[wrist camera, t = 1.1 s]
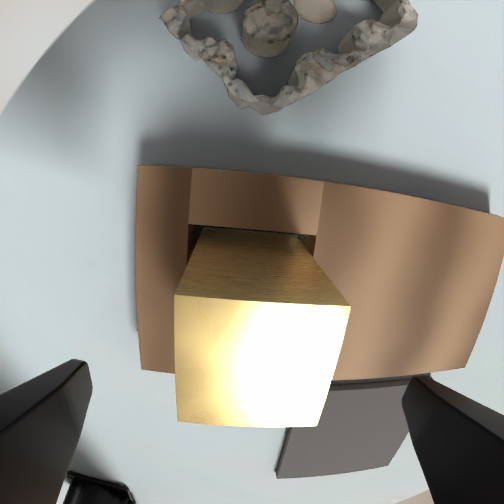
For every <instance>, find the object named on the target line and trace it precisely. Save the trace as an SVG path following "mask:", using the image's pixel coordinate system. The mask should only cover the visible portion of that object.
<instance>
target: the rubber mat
mask: <svg viewBox="0 0 504 504" xmlns="http://www.w3.org/2000/svg"><path fill="white" fill-rule="evenodd" d="M429 378H431V379H432V377H429ZM432 380H433V379H432ZM409 381H410V379H407V380H398V381H388V382H376V383H362V384H344V385H330V386H329V389H328V392H327V396H326V399H325V402H324V405H323V408H322V411H321V414H320V417H319V420H318V423H317V426H304V427H289V431H288V434H287V438H286V441H285V445H284V448H283V452H282V455H281V458H280V462H279V465H278V468H277V472H276V476H277V479H281V478H301V477H314V476H324V475H333V474H341V473H349V472H355V471H362V470H368V469H373V468H379V467H384V466H388V465H389V463H390V462H391V460H392V458H393V457H394V455H395V454H396V452H397V450H398V449H399V447H400V446H401V444H402V442H403V441H404V439H405V437H406V435H407V434H408V432H409V429H408V425H407V422H406V418H405V415H404V411H403V408H402V397H403V394H404V392H405V390H406V388H407V385H408V383H409Z"/></svg>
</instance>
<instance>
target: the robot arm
mask: <svg viewBox="0 0 504 504" xmlns="http://www.w3.org/2000/svg"><path fill="white" fill-rule="evenodd" d="M92 389H93V387H92V381H91V376H90V372H89V367H88V364H87V363H86V362H85V361H82V360H77V359H71V360H69V361H67V362H65V363H63V364H61V365H59V366H57V367H55V368H53V369H51V370H49V371H47V372H45V373H43V374H41V375H39V376H37V377H35V378H33V379H31V380H29V381H27V382H25V383H23V384H21V385H19V386H17V387H15V388H13V389H11V390H9V391H7V392H5V393H3V394H1V395H0V504H56V502H57V499H58V496H59V493H60V490H61V487H62V484H63V482H64V479H65V476H66V477H67V478H68V480H69V482H70V486H69V489H68V491H67V494H66V497H65V499H64V502H63V504H136V503H135V502H134V500H133V499H132V496H131V494H130V491H129V489H128V488H126V487H124V486H120V485H116V484H112V483H107V482H104V481H100V480H96V479H92V478H89V477H85V476H82V475H79V474H75V473H72V472H69V471H68V472H67V470H68V468H69V465H70V462H71V459H72V457H73V454H74V451H75V449H76V446H77V444H78V441H79V438H80V435H81V431H82V428H83V424H84V420H85V416H86V412H87V409H88V405H89V402H90V398H91V395H92ZM402 408H403V411H404V415H405V418H406V422H407V425H408V429H409V433H410V436H411V440H412V443H413V446H414V449H415V452H416V455H417V457H418V460H419V462H420V465H421V468H422V470H423V473H424V476H425V479H426V481H427V484H428V487H429V490H430V493H431V495H432V499H433V501H434V504H504V415H502V414H500V413H498V412H496V411H494V410H492V409H490V408H488V407H486V406H484V405H482V404H480V403H478V402H476V401H474V400H472V399H470V398H468V397H466V396H464V395H462V394H460V393H458V392H456V391H454V390H452V389H450V388H448V387H446V386H444V385H442V384H440V383H438V382H436V381H434V380H432V379H431V378H429V377H427V376H424V375H421V376H414V377H412V378H411V379H410V381H409V383H408V385H407V388H406V390H405V392H404V394H403V397H402Z"/></svg>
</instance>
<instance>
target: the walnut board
mask: <svg viewBox="0 0 504 504" xmlns="http://www.w3.org/2000/svg"><path fill="white" fill-rule="evenodd" d="M194 224H195V225H207V226H219V227H231V228H243V229H254V230H265V231H276V232H287V233H297V234H305V240H304V247H305V248H306V249H307V250H308V252H309V253H310V254H311V255H312V257H313V258H314V259H315V261H316V262H317V263H318V264H319V266H320V267H321V268H322V269H323V271H324V272H325V273H326V275H327V276H328V277H329V278H330V280H331V281H332V282H333V283H334V285H335V286H336V287H337V289H338V290H339V291H340V293H341V294H342V295H343V296H344V298H345V299H346V300H347V302H348V303H349V304H350V306H351V309H350V313H349V317H348V321H347V325H346V329H345V333H344V337H343V341H342V344H341V348H340V352H339V355H338V359H337V362H336V366H335V369H334V373H333V376H332V379H331V380H353V379H370V378H383V377H395V376H405V375H415V374H423V373H431V372H438V371H445V370H452V369H458V368H464V367H465V366H466V364H467V361H468V359H469V357H470V355H471V352H472V350H473V347H474V345H475V343H476V340H477V338H478V335H479V332H480V330H481V327H482V324H483V322H484V319H485V316H486V313H487V310H488V307H489V304H490V301H491V298H492V295H493V292H494V289H495V285H496V282H497V278H498V275H499V271H500V267H501V263H502V259H503V255H504V218H503V217H500V216H497V215H494V214H490V213H486V212H483V211H479V210H475V209H470V208H466V207H462V206H458V205H454V204H449V203H445V202H440V201H436V200H431V199H426V198H421V197H417V196H412V195H406V194H401V193H396V192H391V191H385V190H380V189H374V188H368V187H362V186H356V185H350V184H343V183H337V182H330V181H323V180H316V179H309V178H301V177H293V176H285V175H276V174H267V173H258V172H248V171H237V170H225V169H213V168H199V167H183V166H164V165H140V166H138V177H137V196H136V227H135V272H136V303H137V322H138V337H139V349H140V360H141V369H143V370H150V371H157V372H165V373H173V374H175V347H174V294H175V292H176V290H177V287H178V285H179V282H180V280H181V278H182V275H183V273H184V271H185V269H186V266H187V264H188V262H189V259H190V257H191V255H192V245H193V228H194Z"/></svg>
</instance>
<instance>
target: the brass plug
mask: <svg viewBox="0 0 504 504" xmlns="http://www.w3.org/2000/svg"><path fill="white" fill-rule="evenodd" d="M350 309H351V306H350V304H349V303H348V302H347V300H346V299H345V298H344V296H343V295H342V294H341V293H340V291H339V290H338V289H337V287H336V286H335V285H334V283H333V282H332V281H331V280H330V278H329V277H328V276H327V275H326V273H325V272H324V271H323V269H322V268H321V267H320V266H319V264H318V263H317V262H316V261H315V259H314V258H313V257H312V255H311V254H310V253H309V252H308V250H307V249H306V248H305V247H304V245H303V244H302V243H301V242H300V240H299V239H298V238H297V237H296V236H295V235H291V234H281V233H270V232H259V231H248V230H236V229H224V228H212V227H204V228H203V230H202V232H201V235H200V237H199V239H198V241H197V244H196V246H195V248H194V250H193V253H192V255H191V257H190V259H189V262H188V264H187V266H186V269H185V271H184V273H183V275H182V278H181V280H180V282H179V285H178V287H177V290H176V292H175V294H174V347H175V382H176V403H177V421H179V422H188V423H198V424H209V425H223V426H244V427H304V426H317V423H318V420H319V417H320V414H321V411H322V408H323V405H324V402H325V399H326V396H327V392H328V389H329V386H330V383H331V379H332V376H333V373H334V369H335V366H336V362H337V359H338V355H339V352H340V348H341V344H342V341H343V337H344V333H345V329H346V325H347V321H348V317H349V313H350Z"/></svg>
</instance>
